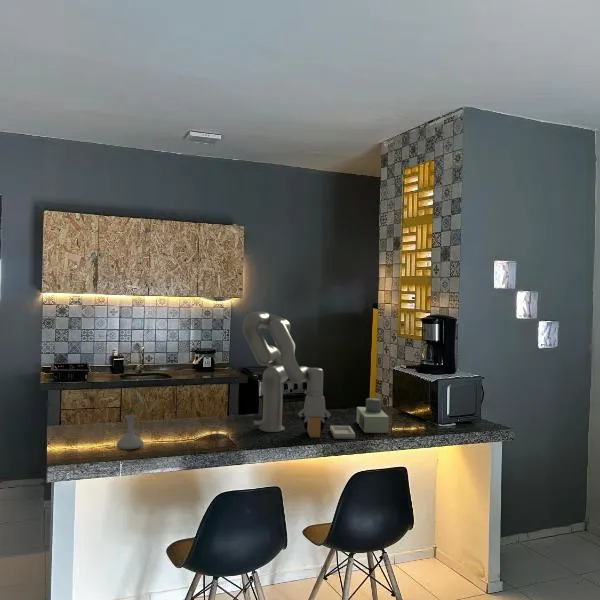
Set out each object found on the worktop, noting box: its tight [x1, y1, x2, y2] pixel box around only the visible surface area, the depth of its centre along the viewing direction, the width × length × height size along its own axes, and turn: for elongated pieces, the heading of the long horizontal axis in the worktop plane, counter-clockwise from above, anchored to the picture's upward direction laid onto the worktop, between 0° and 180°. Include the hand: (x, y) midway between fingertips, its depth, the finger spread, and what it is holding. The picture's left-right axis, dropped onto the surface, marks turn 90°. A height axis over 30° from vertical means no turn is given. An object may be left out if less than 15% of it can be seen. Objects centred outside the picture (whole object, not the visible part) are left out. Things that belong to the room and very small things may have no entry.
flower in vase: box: [116, 388, 145, 450], centre depth 260 cm, size 13×11×25 cm
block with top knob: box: [356, 397, 390, 434], centre depth 313 cm, size 13×24×14 cm, turn 5°
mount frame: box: [329, 425, 356, 440], centre depth 295 cm, size 10×16×2 cm, turn 4°
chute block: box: [307, 417, 321, 438], centre depth 294 cm, size 5×11×9 cm, turn 5°
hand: (313, 429), depth 294 cm, fingers open, 6 cm apart
